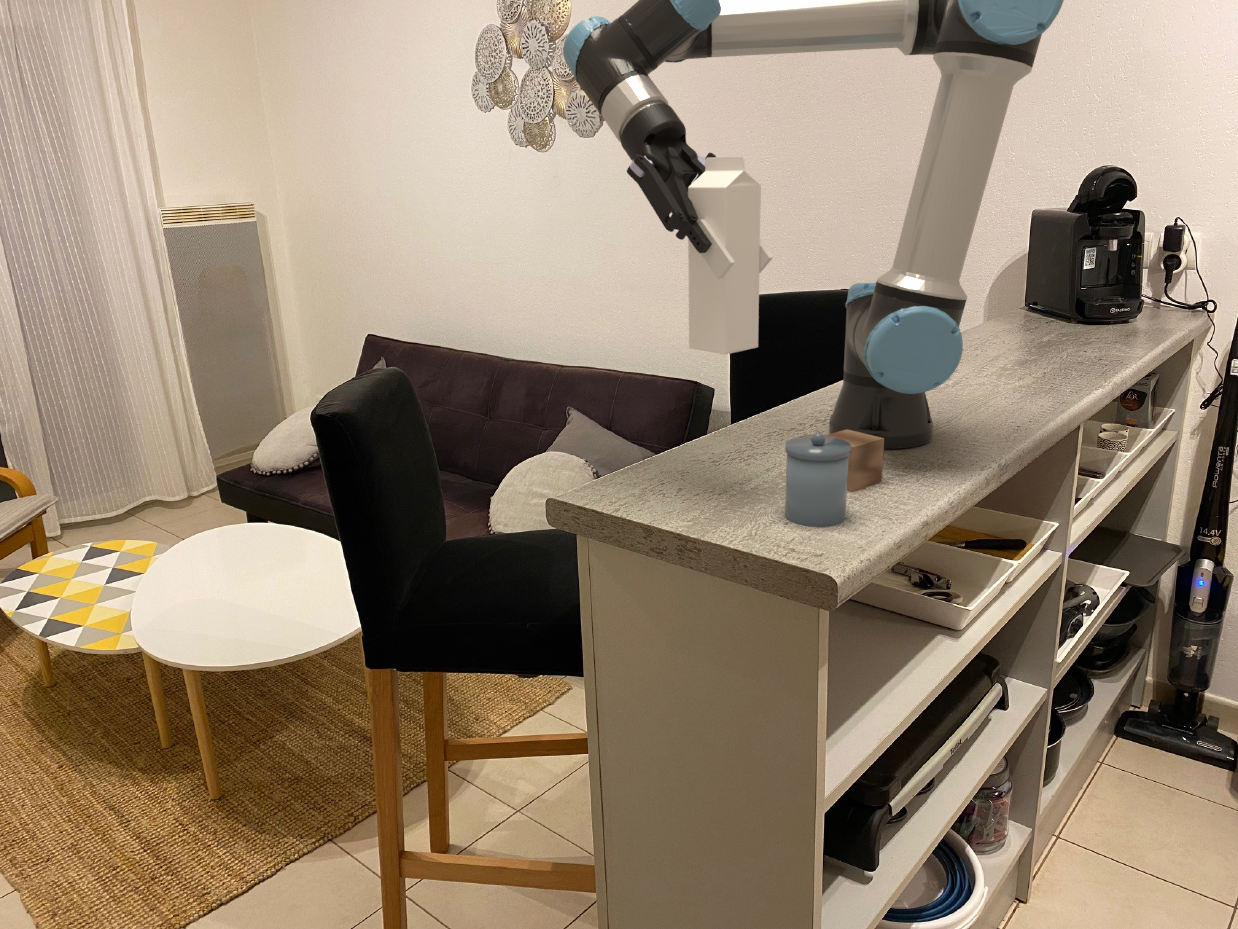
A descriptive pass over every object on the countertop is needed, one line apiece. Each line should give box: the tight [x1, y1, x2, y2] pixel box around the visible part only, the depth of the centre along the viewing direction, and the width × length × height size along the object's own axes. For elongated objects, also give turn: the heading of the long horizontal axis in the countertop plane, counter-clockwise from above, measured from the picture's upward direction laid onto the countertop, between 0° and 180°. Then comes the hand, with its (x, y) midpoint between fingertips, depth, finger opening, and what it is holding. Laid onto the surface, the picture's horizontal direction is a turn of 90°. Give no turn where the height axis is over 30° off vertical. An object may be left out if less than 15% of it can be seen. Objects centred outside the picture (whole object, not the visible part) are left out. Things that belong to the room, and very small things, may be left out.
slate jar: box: [784, 432, 851, 528], centre depth 111 cm, size 7×7×10 cm
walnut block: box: [823, 429, 885, 493], centre depth 123 cm, size 6×6×6 cm
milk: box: [687, 156, 762, 355], centre depth 112 cm, size 6×6×22 cm
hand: (745, 267), depth 110 cm, fingers closed on milk, 6 cm apart
